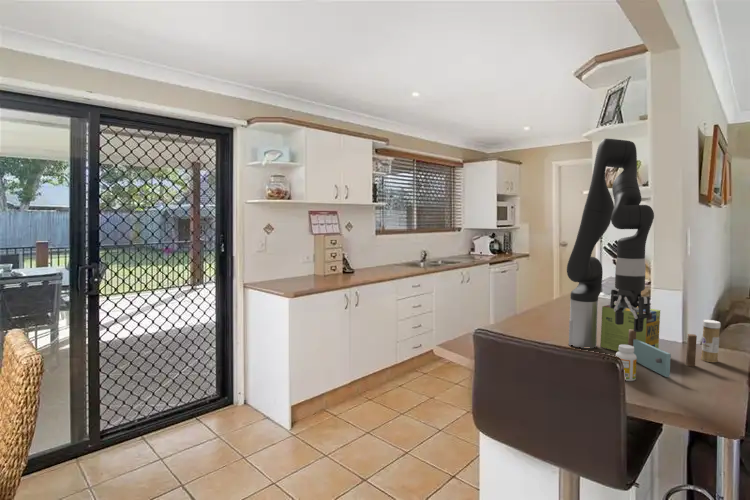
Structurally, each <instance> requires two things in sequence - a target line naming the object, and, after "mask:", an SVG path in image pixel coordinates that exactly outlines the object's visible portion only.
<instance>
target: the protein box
mask: <svg viewBox="0 0 750 500" xmlns="http://www.w3.org/2000/svg"><path fill="white" fill-rule="evenodd" d="M614 305H616V304H615V303H614ZM637 308H638V306H637ZM623 312H624V323H623V324H622V325H617V324H615V311H614V309H611V308H610V304H608V305H603V306H601V325H600V345H599V346H600V348H602V347H603V349H606V348H607V350H610V349H611V351H613V352H619V349H618V348H619V345H621V344H625V345H628V337H629V329H633V330H634V319H635V317H634V315H633V313H632V312H631V311H630V309H629V308H627V307H626V308H625V310H624V311H623ZM643 312H644V314H645V309H644V310H643ZM637 314H639V312H637ZM660 321H661V310H660V309H655V308H654V309H653V308H650V318H645V319H644V322H643V331H642V332H636V339H637V340H640V341H642V342H644V343H647V344H649V345H651V346H653V347H656V348H658V349H660V348H659V347H660V345H659V344H660V343H659V341H660V323H661V322H660Z"/></svg>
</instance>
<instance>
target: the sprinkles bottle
mask: <svg viewBox="0 0 750 500" xmlns="http://www.w3.org/2000/svg"><path fill="white" fill-rule="evenodd" d="M721 326H722V325H721V322H720V321H717V320H714V319H703V320H702V330H703V331H702V339H701V356H700V360H701V361H704V362H706V363H719V360H718V357H719V347H720V329H721Z"/></svg>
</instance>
